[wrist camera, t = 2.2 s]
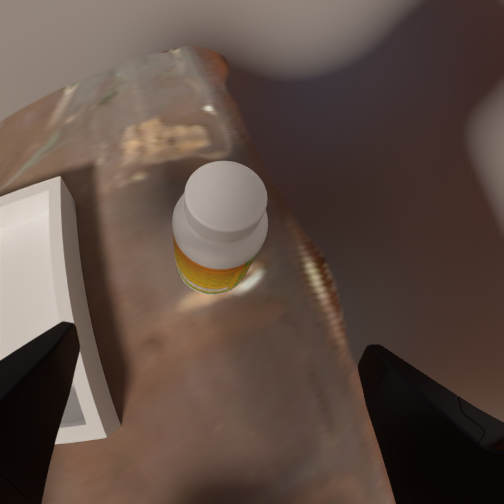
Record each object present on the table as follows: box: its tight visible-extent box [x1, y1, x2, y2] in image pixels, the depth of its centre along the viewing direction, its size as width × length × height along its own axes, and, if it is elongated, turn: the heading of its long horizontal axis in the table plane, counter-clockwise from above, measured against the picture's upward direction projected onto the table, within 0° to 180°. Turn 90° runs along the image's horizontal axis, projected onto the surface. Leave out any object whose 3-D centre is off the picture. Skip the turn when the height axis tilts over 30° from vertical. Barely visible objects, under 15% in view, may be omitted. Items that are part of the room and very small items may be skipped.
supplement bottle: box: [172, 161, 268, 295], centre depth 19 cm, size 5×5×10 cm
